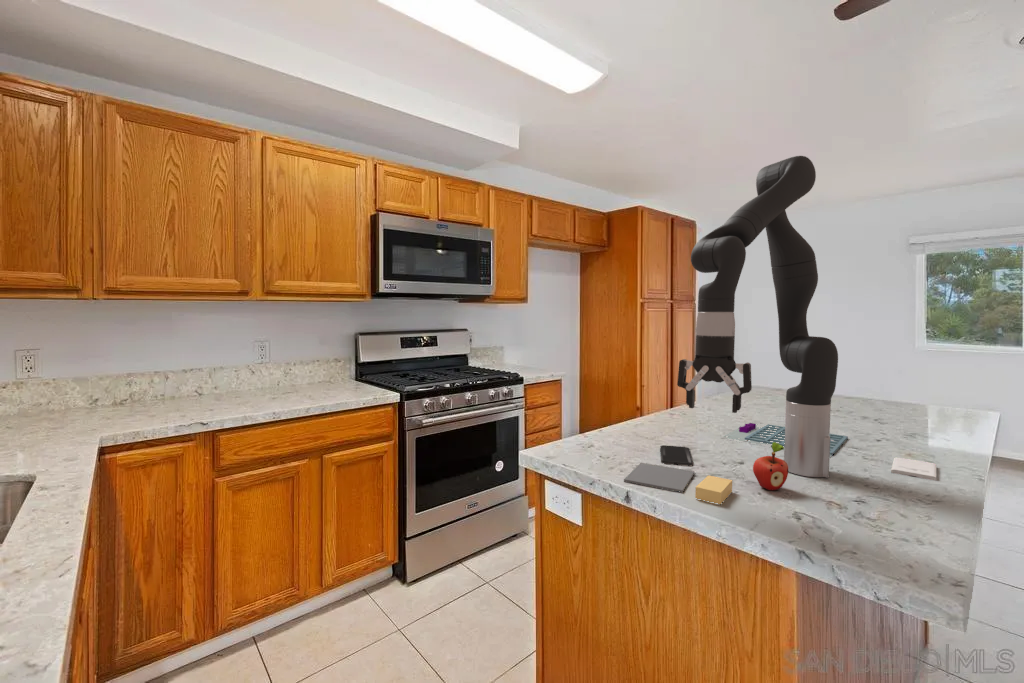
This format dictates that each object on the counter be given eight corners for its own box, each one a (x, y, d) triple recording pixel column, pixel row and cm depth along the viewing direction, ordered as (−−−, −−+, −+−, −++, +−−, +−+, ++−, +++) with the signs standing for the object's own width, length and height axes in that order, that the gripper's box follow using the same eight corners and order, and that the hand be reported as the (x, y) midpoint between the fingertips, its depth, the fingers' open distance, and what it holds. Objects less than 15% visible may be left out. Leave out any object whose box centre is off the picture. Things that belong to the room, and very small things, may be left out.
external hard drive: (935, 469, 117) (936, 483, 107) (893, 462, 122) (890, 474, 113) (936, 463, 116) (936, 476, 107) (894, 456, 122) (891, 468, 113)
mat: (694, 473, 112) (694, 471, 112) (682, 493, 100) (682, 490, 100) (640, 464, 119) (641, 462, 119) (623, 481, 107) (623, 479, 107)
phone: (688, 447, 132) (693, 463, 118) (688, 451, 132) (692, 467, 118) (660, 445, 134) (660, 460, 120) (659, 448, 134) (660, 464, 120)
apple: (788, 497, 98) (789, 450, 97) (751, 491, 101) (753, 446, 101) (787, 485, 105) (788, 441, 104) (753, 480, 108) (754, 437, 107)
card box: (732, 493, 101) (732, 480, 101) (720, 507, 94) (720, 492, 94) (708, 488, 104) (708, 475, 104) (695, 500, 97) (695, 486, 97)
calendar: (829, 460, 124) (830, 452, 124) (720, 440, 144) (720, 432, 144) (848, 441, 143) (848, 433, 143) (749, 425, 163) (749, 418, 163)
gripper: (755, 334, 97) (752, 411, 97) (684, 332, 104) (682, 403, 105) (750, 335, 90) (747, 417, 91) (675, 333, 98) (673, 408, 99)
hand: (712, 409), depth 98 cm, fingers open, 8 cm apart
